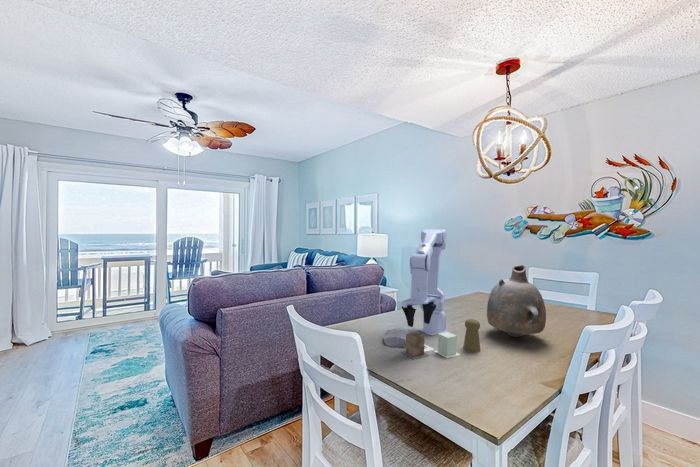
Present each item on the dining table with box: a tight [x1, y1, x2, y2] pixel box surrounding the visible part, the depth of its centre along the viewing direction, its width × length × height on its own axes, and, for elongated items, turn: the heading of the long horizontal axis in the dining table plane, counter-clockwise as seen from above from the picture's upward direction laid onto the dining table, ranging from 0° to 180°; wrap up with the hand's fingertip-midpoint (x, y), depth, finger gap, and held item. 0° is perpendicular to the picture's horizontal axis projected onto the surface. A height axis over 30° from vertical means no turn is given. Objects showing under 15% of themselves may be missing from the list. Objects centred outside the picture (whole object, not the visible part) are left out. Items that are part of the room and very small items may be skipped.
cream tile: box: [424, 343, 435, 353], centre depth 113 cm, size 6×6×1 cm
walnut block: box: [405, 331, 426, 357], centre depth 107 cm, size 4×4×6 cm
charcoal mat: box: [400, 349, 430, 361], centre depth 108 cm, size 7×7×1 cm
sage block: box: [437, 331, 458, 356], centre depth 109 cm, size 4×4×6 cm
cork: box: [462, 318, 481, 353], centre depth 113 cm, size 6×6×11 cm
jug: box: [486, 264, 547, 338], centre depth 126 cm, size 24×21×30 cm
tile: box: [433, 349, 461, 359], centre depth 109 cm, size 6×6×1 cm
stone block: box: [383, 328, 410, 348], centre depth 120 cm, size 12×5×10 cm
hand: (418, 324), depth 110 cm, fingers open, 7 cm apart
